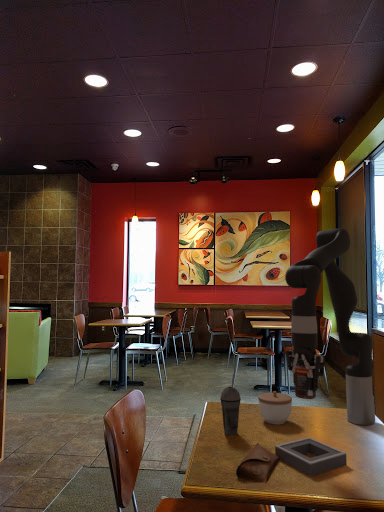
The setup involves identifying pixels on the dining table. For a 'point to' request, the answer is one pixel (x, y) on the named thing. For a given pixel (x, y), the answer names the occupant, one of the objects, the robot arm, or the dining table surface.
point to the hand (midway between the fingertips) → (305, 388)
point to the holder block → (324, 454)
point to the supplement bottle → (303, 381)
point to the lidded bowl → (275, 407)
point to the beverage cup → (230, 409)
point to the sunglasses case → (257, 464)
